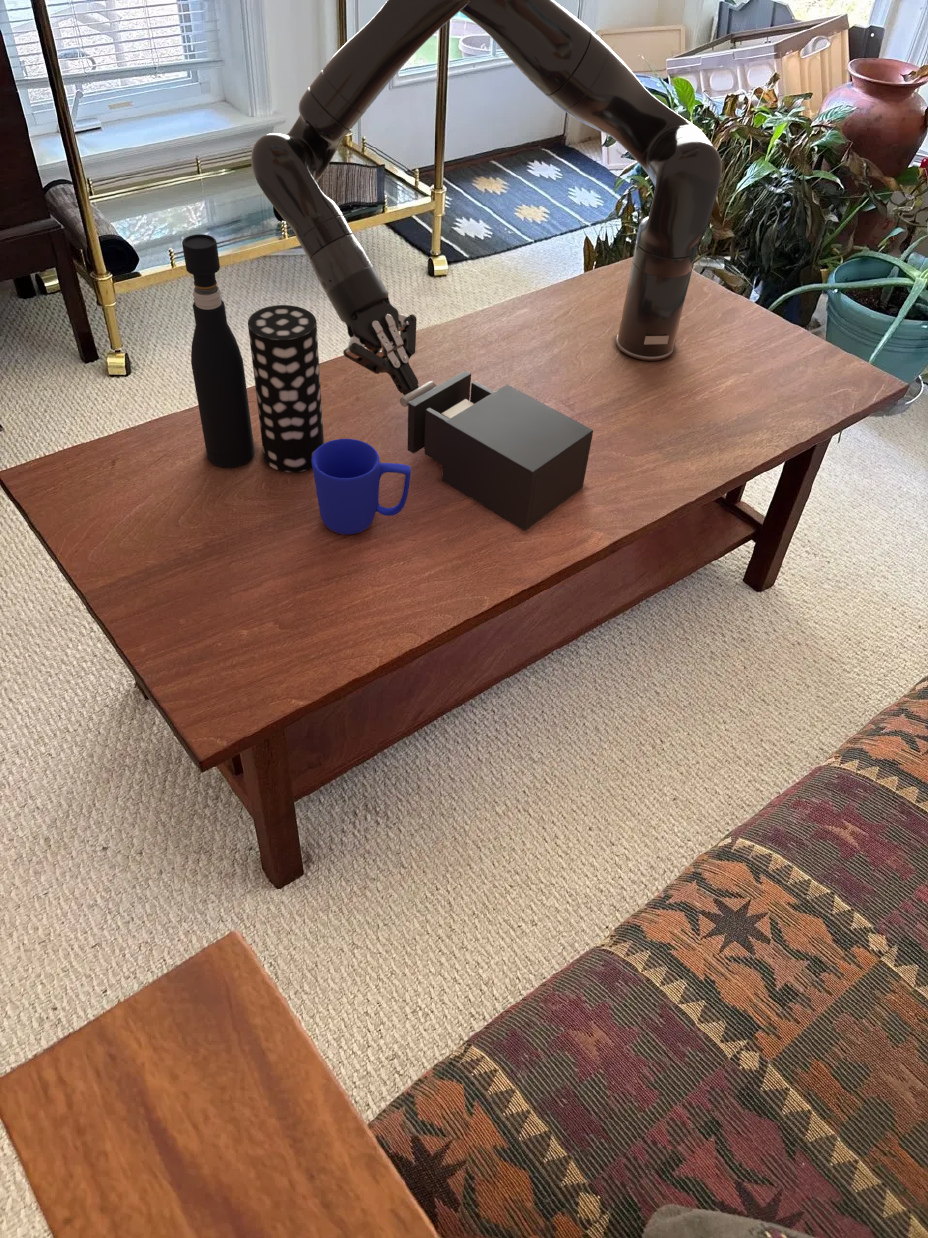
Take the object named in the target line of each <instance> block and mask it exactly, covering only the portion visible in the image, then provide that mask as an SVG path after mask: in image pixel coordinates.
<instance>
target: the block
mask: <svg viewBox="0 0 928 1238" xmlns="http://www.w3.org/2000/svg"><path fill="white" fill-rule="evenodd" d="M472 405H474V403H472V402H470V400H469V401H468V400H467V399H465V400H463V401H461V402H460V403H458V404H456V405H455V406H453V407H451V408H450V409H448V410H446V411H445V412H443V413H441V414H442V415H443V416H445V417H447V418H449V419H450V418H452V417H454V416H455V415H457V414H459V413H460V412H462V411H464V410H465V409H467V408H469V407H470V406H472Z"/></svg>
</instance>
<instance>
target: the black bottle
mask: <svg viewBox="0 0 928 1238" xmlns="http://www.w3.org/2000/svg"><path fill="white" fill-rule="evenodd" d="M181 246H182V252H183V259H184V263H185V270H186V272H187V273H188V274H189V275H190V274H191V275H192V276H193V290H192V297H193V303H192V310H193V317H194V324H195V326H194V331H193V336H192V341H191V350H190V352H191V353H190V365H191V371H192V376H193V383H194V388H195V395H196V400H197V406H198V411H199V416H200V422H201V429H202V433H203V440H204V446H205V451H206V457H207V460H208V461H209V462H210V463H211V464H213V465H215V466H217V467H219V468H228V469H232V468H239V467H241V466H244V465H246V464H248V463H249V462H251V460H252V459H253V458H254V457H255V453H256V452H255V451H256V450H255V444H254V436H253V428H252V421H251V419H252V418H251V412H250V404H249V397H248V387H247V382H246V373H245V367H244V359H243V356H242V352H241V349H240V346H239V344H238V342H237V338H236V337H235V335H234V333H233V331H232V328H231V327H230V325H229V323H228V319H227V312H226V304H225V302H224V300H223V298H222V291H221V289H220V287H219V285H218V281H217V279H216V273H218V272H219V271H220V269H221V265H220V257H219V249H218V242H217V239H216V238H215V237H214V236H211V235H209V234H204V233H198V234H191V235H187V236H186V237H185V238H184V239H182V241H181Z"/></svg>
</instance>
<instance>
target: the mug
mask: <svg viewBox="0 0 928 1238" xmlns="http://www.w3.org/2000/svg"><path fill="white" fill-rule="evenodd" d="M311 462H312V475H313V479H314V487H315V492H316V497H317V503H318V504H317V505H318V509H319V514H320V518H321V521H322V523H323V524H324V526H325V527H326V528H327V529H329V530H330V531H331V532H333V533H336V534H340V535H346V536H347V535H348V536H349V535H357V534H359V533H362V532H364V531H365V530H367V529H368V528H369V527H370V526H371V525H372V522H373V521H374V518H375V516H376V512H377V513H378V514H380V515H382V516H385V517H392V516H397V515H398V514H399V513H400V512H402V510H403V509H404V508H405V505H406V503H407V500H408V496H409V491H410V490H409V489H410V484H411V475H412V468H411V466H410V465H408V464H404V463H395V462H393V463H392V462H381V461H380V456H379V453H378V451H377V450H376V449H375V448H374V446H372V445H371V444H369V443H367V442H365V441H363V440H359V439H354V438H337V439H332V440H329V441H327V442H324V444H322V445H321V446H319V447H318V448H317V449H316V450H315V451H314V453H313V455H312V459H311ZM387 473H396V474H403V475H404V484H403V490H402V494H401V498H400V500H399V501H398V504H396V505H395V506H393V507H385V506H382V505H381V504H380V502H379V500H380V499H379V498H380V497H379V495H380V482H381V478H382V476H383V475H384V474H387Z"/></svg>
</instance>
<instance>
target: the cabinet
mask: <svg viewBox="0 0 928 1238" xmlns="http://www.w3.org/2000/svg"><path fill="white" fill-rule="evenodd" d="M593 434H594V429H592V428H590V427H589V426H586V424H583V423H581V422H580V421H578V420H575V419H574V418H572V417H570V416H568V415H566V414H564V413H562V412H561V411H559V410H557V409H555V408H553V407H551V406H549V405H548V404H545V403H544V402H542V401H540V400H538V399H537V398H535V397H533V396H531V395H528V394H527V393H525V392H523V391H521V390H520V389H517V388H515V387H514V386H512V385H510V384H509V383H506V384H505V385H504V386H501V387H500V388H499V389H496V390H494V392H493V393H492V394H490V395H488V396H487V397H485V398H483V399H482V400H480V401H479V402H477V403H475V404H474V405H472V406H470V407H469V408H467V409H465V410H464V411H462V412H460V413H459V414H457V415H455V416H454V417H452V418H450V419H449V420H447V421H445V432H444V452H443V465H442V474H441V475H442V476H441V481H443V482H444V483H446V484H447V485H449V486H451V487H452V488H454V489H456V490H457V491H458V492H460V493H462V494H464V495H465V496H467V497H469V498H470V499H472V500H474V501H475V502H477V503H479V504H480V505H481V506H483V507H485V508H486V509H488V510H490V511H491V512H493V513H494V514H496V515H498V516H499V517H501V518H503V519H504V520H506V521H508V522H509V523H511V524H512V525H514V526H516V527H517V528H519V529H520V530H522V531H524V532H526V531H527V530H528V529H529V528H531V527H532V526H534V525H535V524H537V523H538V522H539V521H541V520H542V519H543V518H544V517H545V516H548V514H550V513H551V512H553V511H554V510H556V508H558V507H559V506H560V505H562V504H563V503H564V502H566V501H567V500H568V499H570V498H571V497H572V496H574V495H575V494H577V493H578V492H579V491H580V490H582V489H583V487H584V482H585V477H586V472H587V466H588V461H589V456H590V452H591V445H592V441H593Z"/></svg>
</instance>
